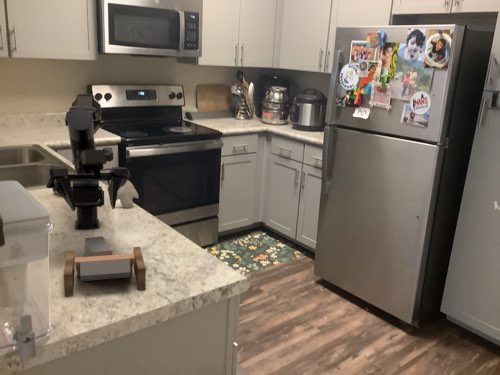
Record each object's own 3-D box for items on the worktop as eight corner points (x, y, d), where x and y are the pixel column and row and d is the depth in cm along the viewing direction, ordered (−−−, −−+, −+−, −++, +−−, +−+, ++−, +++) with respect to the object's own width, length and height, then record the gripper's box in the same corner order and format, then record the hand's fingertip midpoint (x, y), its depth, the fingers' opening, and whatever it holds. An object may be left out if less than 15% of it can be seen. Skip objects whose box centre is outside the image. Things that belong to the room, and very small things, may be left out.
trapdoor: (77, 289, 103) (77, 271, 105) (132, 284, 107) (131, 267, 109) (75, 276, 95) (75, 257, 96) (135, 271, 99) (134, 253, 100)
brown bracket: (67, 271, 107) (66, 251, 105) (140, 266, 112) (140, 246, 110) (64, 296, 96) (63, 274, 94) (145, 289, 101) (145, 268, 100)
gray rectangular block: (92, 270, 106) (84, 254, 115) (112, 268, 108) (102, 252, 118) (92, 252, 105) (84, 237, 115) (112, 250, 107) (102, 236, 117)
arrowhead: (137, 205, 155) (137, 177, 153) (139, 208, 153) (139, 179, 150) (113, 207, 152) (112, 177, 150) (114, 209, 150) (114, 179, 147)
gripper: (50, 132, 103) (59, 195, 98) (131, 136, 114) (143, 192, 108) (41, 157, 111) (49, 217, 106) (117, 158, 122) (128, 212, 117)
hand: (94, 209), depth 109 cm, fingers open, 9 cm apart
